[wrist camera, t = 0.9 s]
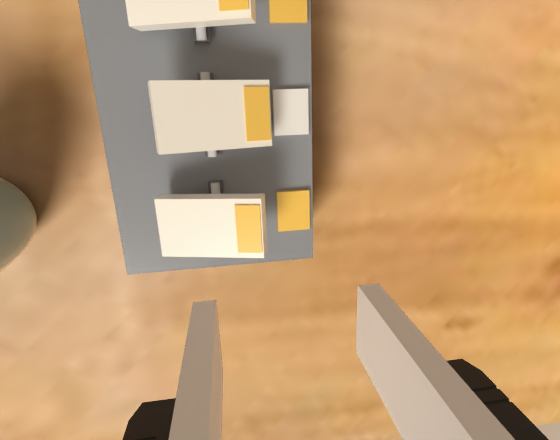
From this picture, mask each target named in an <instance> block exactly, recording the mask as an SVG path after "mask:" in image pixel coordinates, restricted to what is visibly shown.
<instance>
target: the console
mask: <svg viewBox="0 0 560 440" xmlns="http://www.w3.org/2000/svg"><path fill="white" fill-rule="evenodd" d="M78 2H79V8H80V13H81V19H82V24H83V30H84V36H85V41H86V47H87V52H88V58H89V63H90V69H91V74H92V80H93V86H94V91H95V97H96V102H97V108H98V113H99V119H100V125H101V130H102V136H103V141H104V147H105V152H106V158H107V164H108V169H109V175H110V180H111V186H112V191H113V197H114V202H115V208H116V214H117V219H118V225H119V230H120V236H121V241H122V247H123V253H124V258H125V264H126V269H127V275H129V274H140V273H151V272H162V271H173V270H184V269H195V268H206V267H217V266H228V265H239V264H250V263H261V262H272V261H283V260H294V259H305V258H313V191H312V83H311V0H255V9H256V23H254V24H239V25H225V26H210V27H195V28H181V29H166V30H152V31H139V30H137V29H134V28H132V27H130V26H129V23H128V16H127V9H126V2H125V0H78ZM149 80H269V84H270V108H271V131H272V146H264V147H252V148H239V149H227V150H214V151H201V152H189V153H176V154H163V155H159V154H158V153H157V148H156V141H155V134H154V126H153V119H152V112H151V104H150V97H149V90H148V81H149ZM258 193H265V209H266V229H267V249H268V250H267V253H266V255H265V258H224V257H162V250H161V243H160V236H159V230H158V223H157V216H156V209H155V202H154V199H155V198H157V197H159V196H161V195H163V194H258Z"/></svg>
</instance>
